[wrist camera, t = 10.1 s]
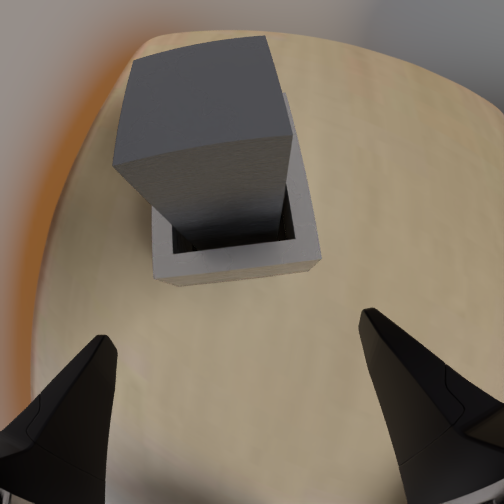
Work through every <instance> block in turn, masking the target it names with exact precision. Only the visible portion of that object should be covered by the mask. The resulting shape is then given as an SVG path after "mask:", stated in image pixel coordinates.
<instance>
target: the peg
mask: <svg viewBox="0 0 504 504" xmlns="http://www.w3.org/2000/svg"><path fill="white" fill-rule="evenodd" d="M292 139H293V133H292V129H291V125H290V121H289V117H288V113H287V109H286V105H285V101H284V98H283V94H282V90H281V87H280V83H279V80H278V76H277V73H276V69H275V66H274V63H273V59H272V56H271V53H270V50H269V46H268V43H267V40H266V37H265V36H253V37H243V38H234V39H226V40H219V41H213V42H207V43H201V44H196V45H191V46H186V47H181V48H177V49H173V50H169V51H165V52H161V53H157V54H153V55H150V56H146V57H143V58H140V59H137V60H134V61H133V64H132V68H131V72H130V75H129V79H128V83H127V87H126V91H125V96H124V100H123V105H122V110H121V115H120V120H119V125H118V131H117V137H116V143H115V150H114V157H113V165H112V166H113V167H114V168H115V169H116V170H117V171H118V172H119V173H120V174H121V175H122V176H123V177H124V178H125V179H126V180H127V181H128V182H129V183H130V184H131V185H132V186H133V187H134V188H135V189H136V190H137V191H138V192H139V193H140V194H141V195H142V196H143V197H144V198H145V199H146V200H147V201H148V202H149V203H150V204H151V205H152V206H153V207H154V208H155V209H156V210H157V211H158V212H159V213H160V214H161V215H162V216H163V217H164V218H165V219H166V220H167V221H168V222H169V223H170V224H171V225H173V226H174V227H175V228H176V229H177V230H178V231H179V232H180V233H181V234H182V235H183V236H184V237H185V238H186V239H187V240H188V241H189V242H190V243H191V244H193V245H194V246H195V247H196V248H197V249H198V250H199V251H203V250H211V249H219V248H227V247H235V246H243V245H251V244H259V243H268V242H276V241H277V236H278V230H279V224H280V218H281V212H282V205H283V199H284V193H285V186H286V180H287V173H288V166H289V160H290V153H291V146H292Z"/></svg>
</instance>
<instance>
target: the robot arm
mask: <svg viewBox="0 0 504 504" xmlns="http://www.w3.org/2000/svg"><path fill="white" fill-rule="evenodd" d="M359 334H360V338H361V342H362V346H363V350H364V354H365V359H366V363H367V367H368V370H369V374H370V377H371V379H372V382H373V385H374V388H375V391H376V394H377V397H378V400H379V403H380V406H381V409H382V412H383V415H384V418H385V421H386V425H387V428H388V431H389V434H390V438H391V441H392V445H393V448H394V451H395V455H396V459H397V462H398V466H399V470H400V474H401V478H402V482H403V486H404V490H405V494H406V499H407V503H408V504H504V403H502V402H500V401H498V400H496V399H495V398H493V397H492V396H490V395H489V394H487V393H486V392H484V391H483V390H481V389H480V388H478V387H477V386H475V385H474V384H472V383H471V382H469V381H468V380H466V379H465V378H464V377H462V376H461V375H460V374H458V373H457V372H456V371H455V370H453V369H452V368H451V367H450V366H448V365H447V364H446V365H445V363H444V362H443V361H442V360H441V359H440V358H438V357H437V356H436V355H435V354H433V353H432V352H431V351H430V350H428V349H427V348H426V347H424V346H423V345H422V344H421V343H419V342H418V341H417V340H416V339H414V338H413V337H412V336H410V335H409V334H408V333H407V332H405V331H404V330H403V329H401V328H400V327H399V326H398V325H396V324H395V323H394V322H392V321H391V320H390V319H389V318H387V317H386V316H385V315H383V314H382V313H381V312H379V311H378V310H377V309H375V308H367V309H363V310H362V312H361V317H360V322H359ZM117 356H118V353H117V349H116V347H115V346H114V344H113V343H112V341H111V340H110V338H109V337H108V336H107V335H97V336H95V337H94V338H93V339H92V340H91V341H90V342H89V343H88V344H87V345H86V346H85V347H84V348H83V349H82V350H81V351H80V352H79V353H78V354H77V355H76V356H75V357H74V358H73V359H72V360H71V361H70V362H69V363H68V365H67V366H66V367H65V368H64V369H63V370H62V371H61V372H60V373H59V374H58V375H57V376H56V377H55V378H54V379H53V380H52V381H51V382H50V383H49V384H48V385H47V386H46V387H45V389H44V390H43V391H42V392H41V393H40V394H39V395H38V396H37V397H36V398H35V399H34V400H33V401H32V402H31V403H30V405H29V406H28V407H27V408H26V409H25V410H24V411H22V412H21V413H20V414H19V415H18V416H17V417H16V418H15V419H14V420H13V421H12V422H11V423H10V424H9V425H8V426H7V427H6V428H5V429H4V430H2V431H0V504H105V477H106V460H107V448H108V438H109V429H110V420H111V413H112V406H113V399H114V392H115V382H116V368H117Z"/></svg>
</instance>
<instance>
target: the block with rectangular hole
mask: <svg viewBox="0 0 504 504" xmlns="http://www.w3.org/2000/svg"><path fill="white" fill-rule="evenodd" d="M282 94H283V98H284V101H285V105H286V109H287V113H288V117H289V121H290V125H291V129H292V133H293V139H292V146H291V153H290V160H289V166H288V173H287V180H286V186H285V193H284V199H283V205H282V216H283V222H284V229H285V235H286V240H284V241H276V242H268V243H259V244H251V245H243V246H235V247H227V248H219V249H211V250H203V251H195V252H192V244H191V243H190V242H189V241H188V240H187V239H186V238H185V237H184V236H183V235H182V234H181V233H180V232H179V231H178V230H177V229H176V228H175V227H174V226H173V225H171V224H170V223H169V222H168V221H167V220H166V219H165V218H164V217H163V216H162V215H161V214H160V213H159V212H158V211H157V210H156V209H155V208H154V207H153V206H152V256H153V277H154V279H156V280H159V281H162V282H165V283H169V284H172V285H175V286H188V285H197V284H207V283H216V282H225V281H234V280H242V279H251V278H259V277H267V276H275V275H283V274H291V273H299V272H306V271H309V270H310V269H311V268H313V267H314V266H315V265H316V264H317V263H318V262H319V261H320V260H321V259H322V257H321V251H320V245H319V239H318V233H317V228H316V222H315V217H314V211H313V206H312V201H311V196H310V191H309V187H308V182H307V177H306V173H305V168H304V164H303V159H302V155H301V151H300V146H299V142H298V138H297V134H296V130H295V126H294V122H293V118H292V114H291V111H290V107H289V103H288V100H287V96H286V93H282Z"/></svg>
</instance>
